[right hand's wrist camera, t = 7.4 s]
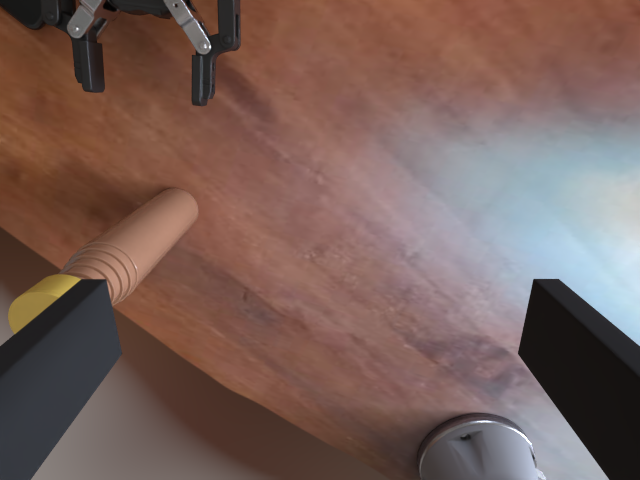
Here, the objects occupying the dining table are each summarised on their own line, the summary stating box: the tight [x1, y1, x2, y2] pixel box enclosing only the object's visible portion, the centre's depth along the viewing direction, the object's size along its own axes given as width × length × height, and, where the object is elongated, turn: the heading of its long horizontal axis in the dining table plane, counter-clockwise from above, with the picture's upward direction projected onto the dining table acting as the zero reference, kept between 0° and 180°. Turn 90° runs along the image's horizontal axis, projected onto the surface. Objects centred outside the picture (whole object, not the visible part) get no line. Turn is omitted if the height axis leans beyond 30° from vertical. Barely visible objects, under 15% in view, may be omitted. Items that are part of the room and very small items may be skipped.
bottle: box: [59, 188, 198, 306], centre depth 34 cm, size 5×5×22 cm
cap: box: [8, 274, 81, 334], centre depth 24 cm, size 4×4×2 cm
